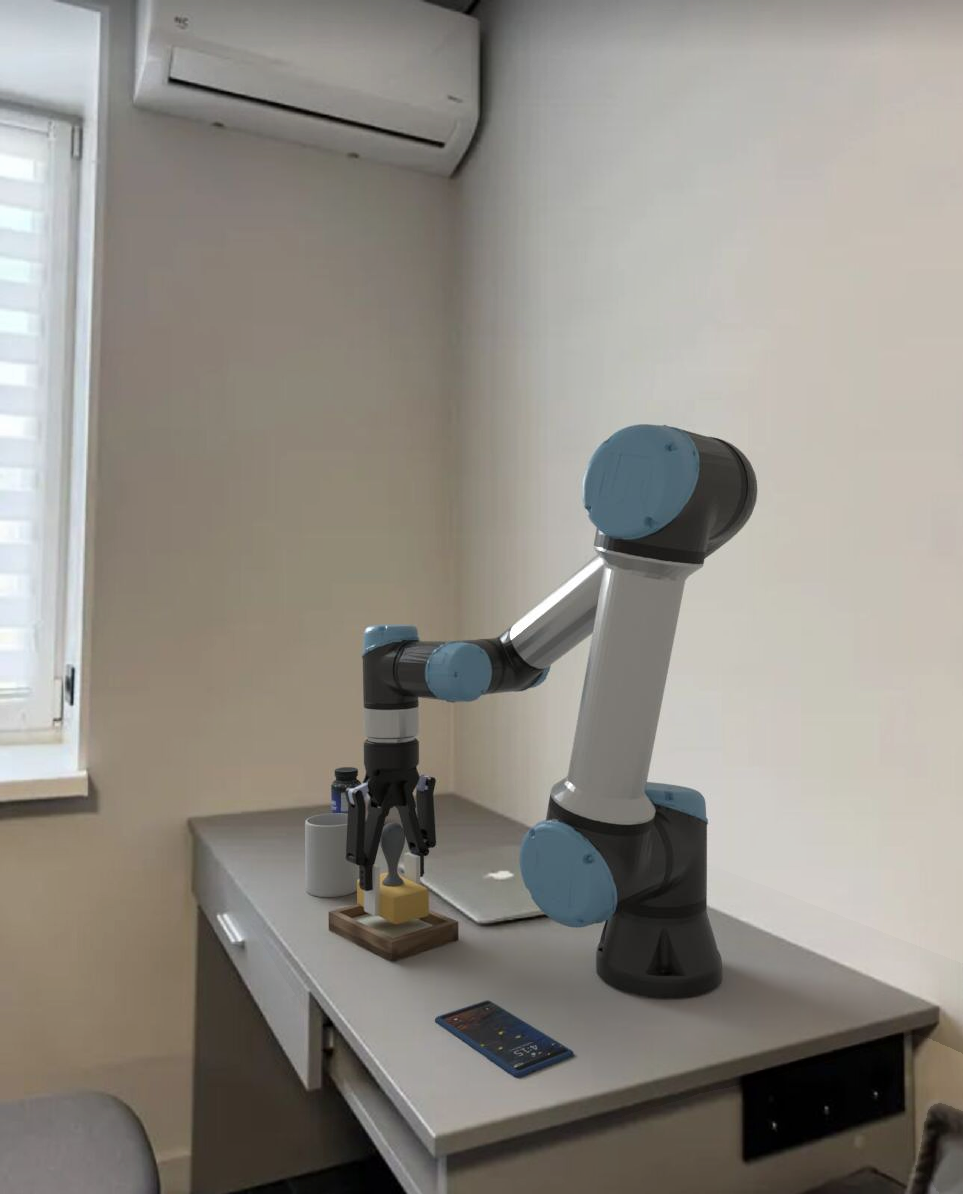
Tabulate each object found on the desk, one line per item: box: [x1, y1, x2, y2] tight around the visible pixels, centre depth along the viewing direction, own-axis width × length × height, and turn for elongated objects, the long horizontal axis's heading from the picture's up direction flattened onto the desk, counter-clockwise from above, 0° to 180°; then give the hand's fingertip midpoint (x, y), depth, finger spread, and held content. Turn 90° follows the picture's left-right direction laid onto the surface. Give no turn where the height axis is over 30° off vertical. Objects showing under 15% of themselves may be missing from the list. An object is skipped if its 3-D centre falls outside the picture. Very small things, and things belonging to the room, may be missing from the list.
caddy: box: [328, 903, 460, 963], centre depth 126 cm, size 15×11×2 cm
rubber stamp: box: [356, 821, 430, 924], centre depth 126 cm, size 10×6×12 cm, turn 37°
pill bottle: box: [330, 766, 362, 814], centre depth 186 cm, size 6×6×11 cm
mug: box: [304, 813, 359, 898], centre depth 147 cm, size 12×8×11 cm
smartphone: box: [434, 999, 575, 1079], centre depth 97 cm, size 8×1×15 cm
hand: (392, 906), depth 126 cm, fingers closed on rubber stamp, 6 cm apart
